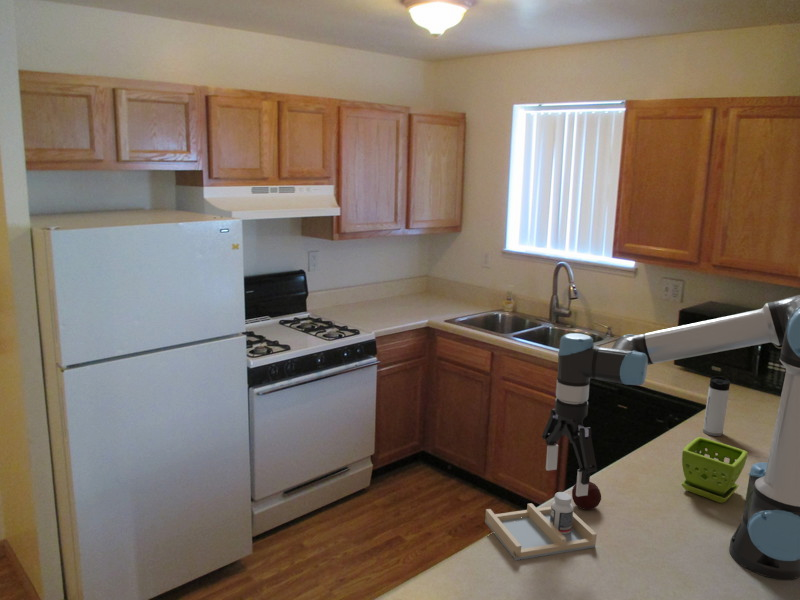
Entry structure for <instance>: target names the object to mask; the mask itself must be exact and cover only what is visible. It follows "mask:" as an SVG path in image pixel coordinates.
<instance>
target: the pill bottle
mask: <svg viewBox="0 0 800 600" xmlns="http://www.w3.org/2000/svg"><path fill="white" fill-rule="evenodd" d="M553 499H554V501H552V503H551V506H550V507H551V515H550V522H551V523H552V524H553V525H554V527H555V528H556V529H557V530H558V531H559V532H560V533H561V534H568V533H570V532H571V528H572V517H573V512H574V506H573V504H572V495H571V494H570V493H567V492H563V491H558V492H556V493H555V494H554V498H553Z"/></svg>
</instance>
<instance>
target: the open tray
mask: <svg viewBox="0 0 800 600" xmlns="http://www.w3.org/2000/svg"><path fill="white" fill-rule="evenodd" d="M526 505H527V507H526V509H522V510H517V511H509V512H502V513H494V511H493V510H492V509H491V508H487V509H485V518H484V523H485V524H486V525H487V526H488V528H489V529H490V530H491V532H492V533H493V534H494V535H495V536H496V538H497V539H498V540H499V541H500V543H501V545H503V547H504V548H505V549H506V551H507V552H508V553H509V554H510V555H511V557H512V556H513V557H514V558H513V557H512V558H513V560H515V561H520V559H521V560H526V559H531V558H532V559H533V558H537V557H538V558H539V557H545V556H550V555H551V556H552V555H556V554H562V553H568V552H574V551H580V550H586V549H591V548H592V549H593V548H596V543H597V534H598V533H596V532H595V531H594V529H592V528H591V527H590V526H589V525H588V524H587V523H586V522H585V521H583V519H581V518H580V517H579V516H578V515H577V514H576V513H575V512H574V511H573V517H572V528H571V532H570V533H568V534H561V533H560V532H559V531H558V530H557V529H556V528H555V527H554V525H553V524H552V523H551V522H550V515H551V506H544V507H536V506H535V505H534V504H533V503H527V504H526ZM521 517H522V518H521ZM514 521H515V522H514ZM507 525H508V526H507ZM494 532H495V533H494Z"/></svg>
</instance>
